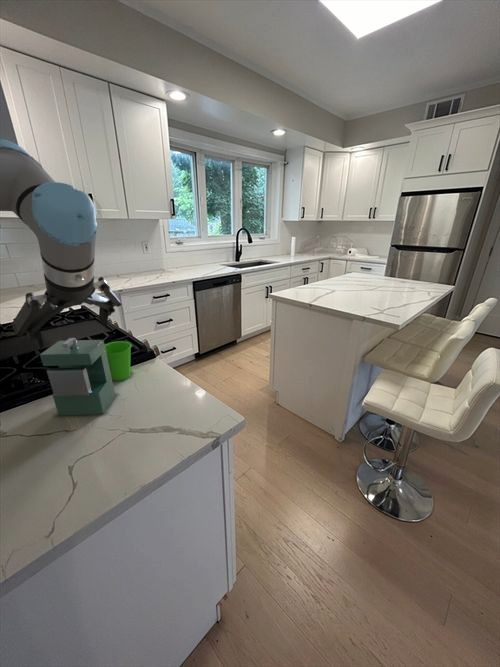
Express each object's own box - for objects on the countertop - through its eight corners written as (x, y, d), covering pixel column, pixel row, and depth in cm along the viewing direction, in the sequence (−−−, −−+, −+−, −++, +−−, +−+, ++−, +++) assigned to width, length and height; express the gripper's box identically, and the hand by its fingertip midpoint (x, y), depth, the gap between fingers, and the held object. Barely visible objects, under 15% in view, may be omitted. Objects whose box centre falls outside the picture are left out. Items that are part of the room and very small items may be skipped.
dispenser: (59, 417, 70) (36, 346, 63) (75, 398, 78) (57, 332, 70) (104, 416, 71) (87, 345, 63) (115, 397, 78) (102, 332, 71)
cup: (99, 383, 85) (91, 351, 81) (120, 369, 93) (114, 339, 89) (122, 388, 83) (116, 355, 78) (142, 373, 91) (137, 343, 86)
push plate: (54, 396, 66) (46, 371, 64) (58, 392, 68) (50, 368, 65) (88, 395, 67) (82, 370, 64) (91, 391, 68) (86, 367, 66)
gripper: (-13, 310, 40) (14, 367, 56) (145, 273, 56) (132, 326, 72) (-33, 271, 42) (-1, 338, 58) (127, 246, 58) (117, 304, 74)
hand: (73, 331), depth 65 cm, fingers open, 13 cm apart
